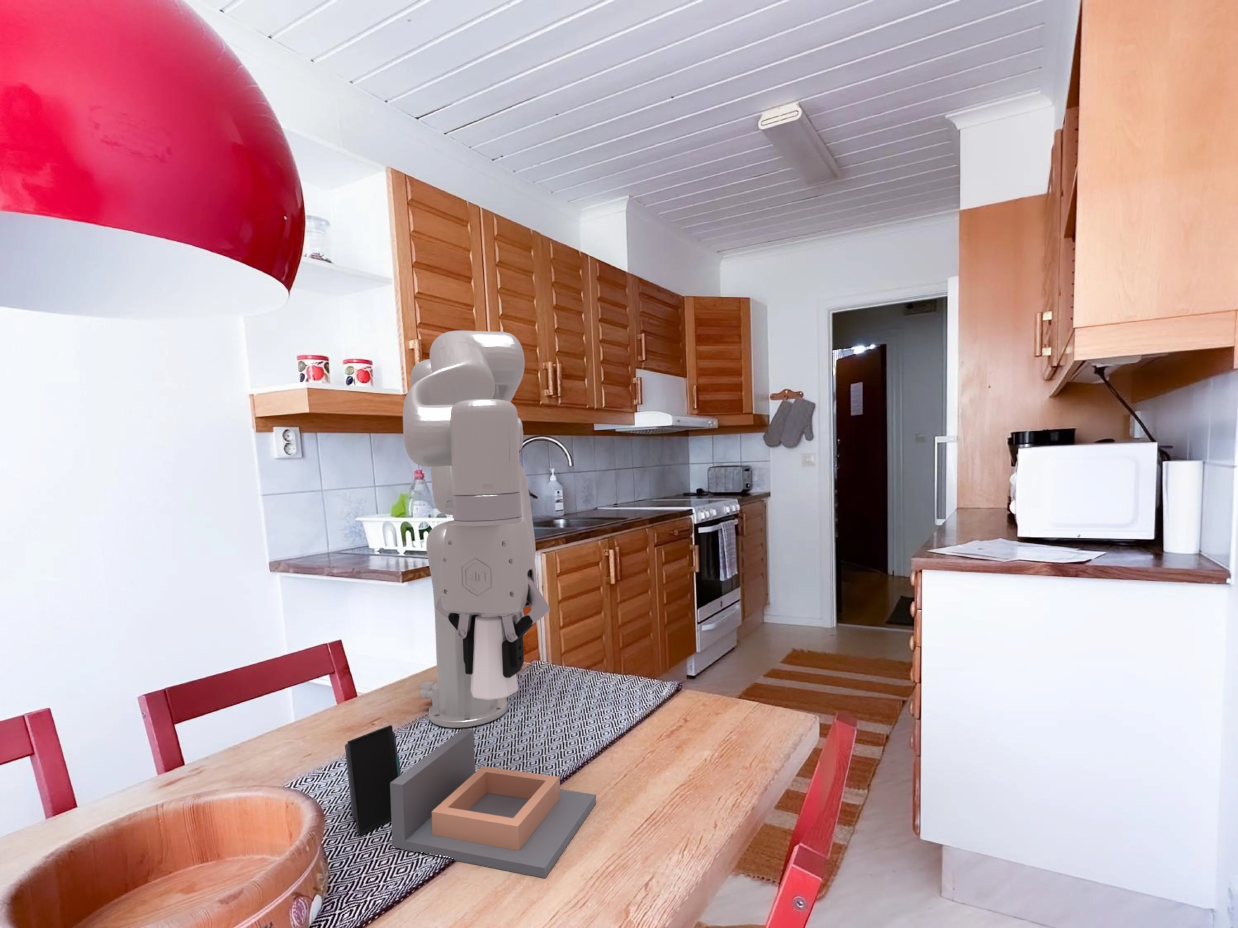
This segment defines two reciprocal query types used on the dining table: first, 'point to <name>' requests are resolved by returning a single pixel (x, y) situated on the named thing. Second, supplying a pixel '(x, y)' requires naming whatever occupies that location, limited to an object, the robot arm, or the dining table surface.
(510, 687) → the salt shaker
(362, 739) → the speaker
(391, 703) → the dining table surface
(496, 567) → the robot arm
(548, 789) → the gray walled base stand
